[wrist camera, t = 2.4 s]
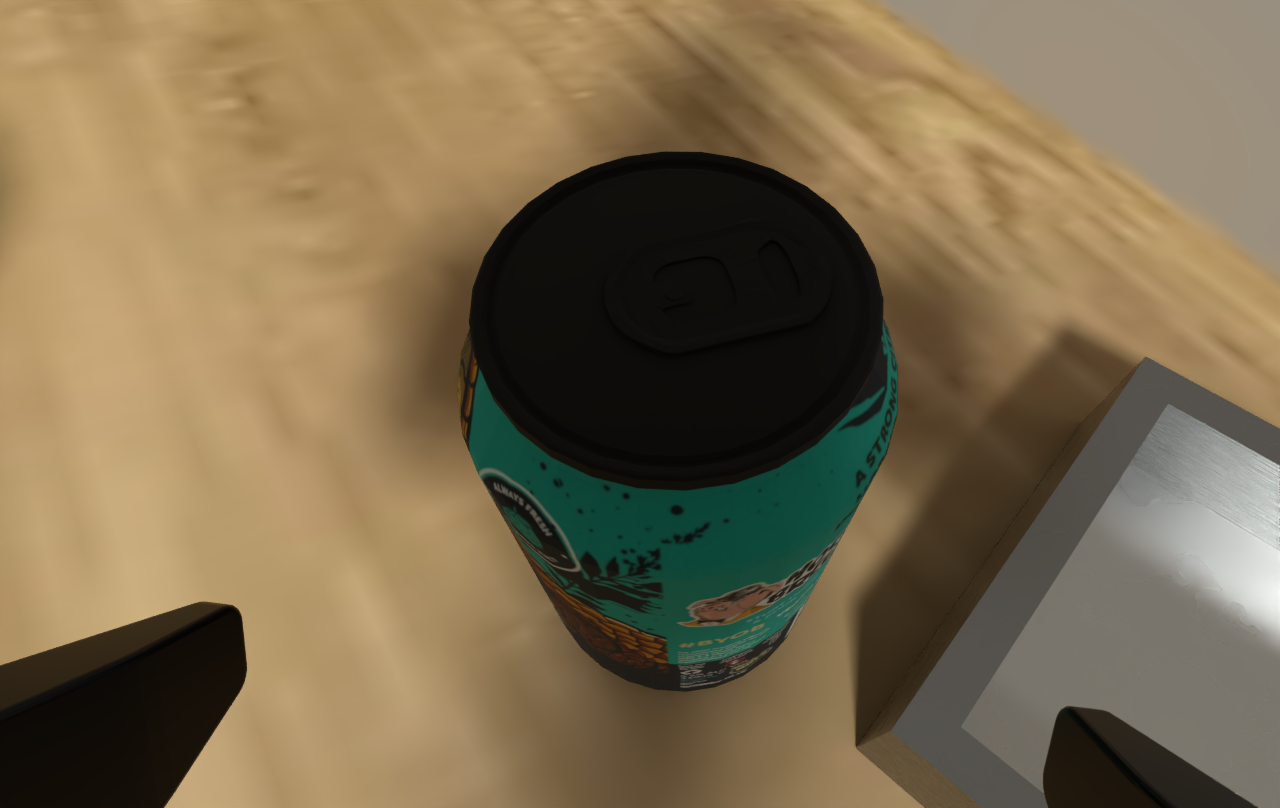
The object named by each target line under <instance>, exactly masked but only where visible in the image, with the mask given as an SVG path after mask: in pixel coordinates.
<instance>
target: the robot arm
mask: <svg viewBox="0 0 1280 808" xmlns="http://www.w3.org/2000/svg"><path fill="white" fill-rule="evenodd" d="M246 672H247V661H246V651H245V642H244V632H243V622H242V616H241V613H240V611H239V610H238V609H237V608H236V607H235V606H233V605H228V604H220V603H212V602H197V603H194V604H191V605H188V606H184V607H181V608H178V609H175V610H172V611H169V612H166V613H163V614H159V615H156V616H153V617H150V618H147V619H144V620H141V621H138V622H134V623H131V624H128V625H125V626H122V627H119V628H116V629H113V630H110V631H106V632H103V633H100V634H97V635H94V636H91V637H88V638H85V639H81V640H78V641H75V642H72V643H69V644H66V645H63V646H60V647H56V648H53V649H50V650H47V651H44V652H41V653H38V654H35V655H31V656H28V657H25V658H22V659H19V660H16V661H13V662H10V663H6V664H3V665H0V808H164V807H165V806H166V804H167V803H168V801H169V800H170V798H171V797H172V796H173V794H174V793H175V791H176V790H177V788H178V787H179V785H180V783H181V782H182V780H183V779H184V777H185V776H186V774H187V773H188V771H189V770H190V768H191V766H192V765H193V763H194V762H195V760H196V759H197V757H198V756H199V754H200V753H201V751H202V749H203V748H204V746H205V745H206V743H207V742H208V740H209V739H210V737H211V736H212V734H213V733H214V731H215V729H216V728H217V726H218V725H219V723H220V722H221V720H222V719H223V717H224V716H225V714H226V712H227V711H228V709H229V708H230V706H231V705H232V703H233V702H234V700H235V699H236V697H237V695H238V694H239V692H240V690H241V689H242V686H243V684H244V682H245V678H246ZM1043 790H1044V796H1045V800H1046V803H1047V806H1048V808H1258V807H1257V806H1255V805H1254V804H1252V803H1251V802H1249V801H1247V800H1246V799H1244V798H1243V797H1241V796H1240V795H1238V794H1237V793H1235V792H1233V791H1232V790H1230V789H1229V788H1227V787H1226V786H1224V785H1223V784H1221V783H1219V782H1218V781H1216V780H1215V779H1213V778H1212V777H1210V776H1208V775H1207V774H1205V773H1204V772H1202V771H1201V770H1199V769H1198V768H1196V767H1194V766H1193V765H1191V764H1190V763H1188V762H1187V761H1185V760H1184V759H1182V758H1180V757H1179V756H1177V755H1176V754H1174V753H1173V752H1171V751H1169V750H1168V749H1166V748H1165V747H1163V746H1162V745H1160V744H1159V743H1157V742H1155V741H1154V740H1152V739H1151V738H1149V737H1148V736H1146V735H1144V734H1143V733H1141V732H1140V731H1138V730H1137V729H1135V728H1134V727H1132V726H1130V725H1129V724H1127V723H1126V722H1124V721H1123V720H1121V719H1120V718H1118V717H1116V716H1115V715H1113V714H1112V713H1110V712H1108V711H1105V710H1101V709H1092V708H1083V707H1075V706H1066V707H1064V708H1063V709H1061V710H1060V711H1059V713H1058V714H1057V717H1056V720H1055V724H1054V728H1053V732H1052V736H1051V740H1050V745H1049V749H1048V753H1047V757H1046V761H1045V765H1044V770H1043Z"/></svg>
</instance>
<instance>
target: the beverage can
mask: <svg viewBox="0 0 1280 808" xmlns="http://www.w3.org/2000/svg"><path fill="white" fill-rule="evenodd" d="M469 325H470V329H469V332H468V335H467V338H466V341H465V343H464V346H463V349H462V354H461V363H460V372H459V381H458V395H457V397H458V404H459V411H460V418H461V426H462V433H463V437H464V440H465V442H466V445H467V447H468V450H469V452H470V455H471V457H472V459H473V462H474V464H475V467H476V469H477V472H478V474H479V476H480V478H481V479H482V481H483V483H484V485H485V486H486V488H487V490H488V492H489V493H490V495H491V497H492V499H493V500H494V502H495V504H496V506H497V508H498V509H499V511H500V513H501V515H502V516H503V518H504V520H505V522H506V523H507V525H508V527H509V529H510V530H511V532H512V534H513V536H514V537H515V539H516V541H517V543H518V544H519V546H520V548H521V550H522V551H523V553H524V555H525V557H526V558H527V560H528V562H529V564H530V565H531V567H532V569H533V571H534V572H535V574H536V576H537V578H538V579H539V581H540V583H541V585H542V586H543V588H544V590H545V592H546V593H547V595H548V597H549V599H550V600H551V602H552V604H553V606H554V607H555V609H556V611H557V613H558V614H559V616H560V618H561V620H562V621H563V623H564V625H565V626H566V628H567V629H568V630H569V632H570V633H571V635H572V636H573V637H574V639H575V640H576V642H577V643H578V644H579V646H580V647H581V648H582V649H583V650H584V651H585V652H586V653H587V654H589V655H590V656H591V657H592V658H593V659H594V660H595V661H596V662H598V663H599V664H600V665H601V666H602V667H604V668H606V669H607V670H609V671H611V672H613V673H614V674H616V675H618V676H620V677H622V678H623V679H625V680H627V681H630V682H633V683H636V684H640V685H643V686H646V687H650V688H653V689H658V690H672V691H692V690H698V689H705V688H711V687H716V686H719V685H721V684H724V683H726V682H729V681H731V680H734V679H737V678H739V677H742V676H743V675H745V674H746V673H748V672H749V671H751V670H752V669H754V668H755V667H757V666H758V665H760V664H761V663H762V662H764V661H765V660H767V659H768V658H769V656H770V655H771V654H772V653H773V652H774V651H775V650H776V649H777V648H778V647H779V646H780V645H781V643H782V642H783V641H784V640H785V639H786V638H787V636H788V634H789V632H790V631H791V629H792V627H793V625H794V624H795V622H796V620H797V618H798V616H799V615H800V613H801V611H802V609H803V607H804V605H805V604H806V602H807V600H808V598H809V596H810V594H811V593H812V591H813V589H814V587H815V585H816V583H817V582H818V580H819V578H820V576H821V574H822V572H823V570H824V569H825V567H826V565H827V563H828V561H829V559H830V558H831V556H832V554H833V552H834V550H835V548H836V546H837V545H838V543H839V541H840V539H841V537H842V535H843V534H844V532H845V530H846V528H847V526H848V524H849V523H850V521H851V519H852V517H853V515H854V513H855V511H856V510H857V508H858V506H859V504H860V502H861V500H862V499H863V497H864V495H865V493H866V491H867V489H868V487H869V486H870V484H871V482H872V480H873V478H874V476H875V475H876V473H877V471H878V469H879V467H880V465H881V463H882V462H883V460H884V458H885V456H886V454H887V451H888V447H889V443H890V440H891V436H892V432H893V428H894V425H895V421H896V417H897V414H898V368H897V362H896V358H895V354H894V350H893V346H892V342H891V338H890V334H889V330H888V327H887V325H886V323H885V321H884V319H883V296H882V292H881V288H880V284H879V280H878V276H877V272H876V268H875V265H874V263H873V261H872V259H871V257H870V255H869V254H868V252H867V250H866V248H865V246H864V244H863V242H862V241H861V239H860V237H859V235H858V234H857V233H856V232H855V230H854V229H853V228H852V227H851V226H850V225H849V224H848V222H847V221H846V220H845V219H844V218H843V217H842V215H841V214H840V213H839V212H838V211H837V210H836V209H835V208H834V207H833V206H832V205H830V204H829V203H828V202H826V201H825V200H824V199H822V198H821V197H820V196H818V195H817V194H816V193H815V192H813V191H812V190H811V189H809V188H808V187H807V186H805V185H803V184H801V183H799V182H797V181H795V180H793V179H791V178H789V177H787V176H785V175H783V174H781V173H780V172H778V171H776V170H774V169H771V168H768V167H765V166H761V165H758V164H755V163H752V162H749V161H746V160H743V159H740V158H735V157H729V156H723V155H716V154H710V153H704V152H657V153H650V154H643V155H635V156H628V157H624V158H620V159H617V160H613V161H610V162H606V163H603V164H600V165H596V166H593V167H590V168H588V169H586V170H584V171H581V172H579V173H577V174H575V175H573V176H571V177H569V178H566V179H564V180H562V181H560V182H558V183H556V184H555V185H554V186H552V187H551V188H549V189H548V190H546V191H545V192H543V193H542V194H540V195H539V196H538V197H536V198H535V199H533V200H532V201H530V202H529V203H528V204H527V205H526V206H525V207H524V208H523V209H522V210H521V211H520V212H519V213H518V214H517V215H516V216H515V217H514V218H513V219H512V220H511V221H510V222H509V223H508V224H507V225H506V226H505V227H504V228H503V229H502V230H501V232H500V234H499V235H498V237H497V238H496V240H495V241H494V243H493V244H492V246H491V247H490V249H489V250H488V252H487V253H486V255H485V256H484V259H483V262H482V264H481V267H480V270H479V272H478V275H477V278H476V280H475V283H474V286H473V289H472V299H471V308H470V317H469Z"/></svg>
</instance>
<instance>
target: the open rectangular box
mask: <svg viewBox="0 0 1280 808" xmlns="http://www.w3.org/2000/svg"><path fill="white" fill-rule="evenodd" d="M1066 706H1075V707H1083V708H1092V709H1101V710H1105V711H1108V712H1110V713H1112V714H1113V715H1115V716H1116V717H1118V718H1120V719H1121V720H1123V721H1124V722H1126V723H1127V724H1129V725H1130V726H1132V727H1134V728H1135V729H1137V730H1138V731H1140V732H1141V733H1143V734H1144V735H1146V736H1148V737H1149V738H1151V739H1152V740H1154V741H1155V742H1157V743H1159V744H1160V745H1162V746H1163V747H1165V748H1166V749H1168V750H1169V751H1171V752H1173V753H1174V754H1176V755H1177V756H1179V757H1180V758H1182V759H1184V760H1185V761H1187V762H1188V763H1190V764H1191V765H1193V766H1194V767H1196V768H1198V769H1199V770H1201V771H1202V772H1204V773H1205V774H1207V775H1208V776H1210V777H1212V778H1213V779H1215V780H1216V781H1218V782H1219V783H1221V784H1223V785H1224V786H1226V787H1227V788H1229V789H1230V790H1232V791H1233V792H1235V793H1237V794H1238V795H1240V796H1241V797H1243V798H1244V799H1246V800H1247V801H1249V802H1251V803H1252V804H1254V805H1255V806H1257V807H1258V808H1280V429H1279V428H1277V427H1275V426H1273V425H1272V424H1270V423H1268V422H1266V421H1264V420H1262V419H1260V418H1259V417H1257V416H1255V415H1253V414H1251V413H1249V412H1247V411H1246V410H1244V409H1242V408H1240V407H1238V406H1236V405H1234V404H1233V403H1231V402H1229V401H1227V400H1225V399H1223V398H1222V397H1220V396H1218V395H1216V394H1214V393H1212V392H1210V391H1209V390H1207V389H1205V388H1203V387H1201V386H1199V385H1197V384H1196V383H1194V382H1192V381H1190V380H1188V379H1186V378H1184V377H1183V376H1181V375H1179V374H1177V373H1175V372H1173V371H1171V370H1170V369H1168V368H1166V367H1164V366H1162V365H1160V364H1159V363H1157V362H1155V361H1153V360H1151V359H1149V358H1147V357H1145V358H1144V359H1143V360H1142V361H1141V362H1140V363H1139V364H1138V365H1137V366H1136V367H1135V368H1134V369H1133V370H1132V371H1131V372H1130V373H1129V374H1128V375H1127V376H1126V378H1125V379H1124V380H1123V381H1122V382H1121V383H1120V384H1119V385H1118V386H1117V387H1116V388H1115V389H1114V390H1113V391H1112V392H1111V393H1110V394H1109V395H1108V396H1107V397H1106V398H1105V399H1104V400H1103V401H1102V402H1101V403H1100V404H1099V405H1098V406H1097V407H1096V408H1095V409H1094V410H1093V411H1092V412H1091V413H1090V414H1089V415H1088V416H1087V417H1086V418H1085V420H1084V421H1083V422H1082V423H1081V424H1080V426H1079V427H1078V429H1077V430H1076V432H1075V433H1074V435H1073V436H1072V437H1071V439H1070V440H1069V442H1068V443H1067V445H1066V446H1065V447H1064V449H1063V450H1062V452H1061V453H1060V455H1059V456H1058V458H1057V459H1056V460H1055V462H1054V463H1053V465H1052V466H1051V468H1050V469H1049V471H1048V472H1047V473H1046V475H1045V476H1044V478H1043V479H1042V481H1041V482H1040V483H1039V485H1038V486H1037V488H1036V489H1035V491H1034V492H1033V494H1032V495H1031V496H1030V498H1029V499H1028V501H1027V502H1026V504H1025V505H1024V507H1023V508H1022V509H1021V511H1020V512H1019V514H1018V515H1017V517H1016V518H1015V519H1014V521H1013V522H1012V524H1011V525H1010V527H1009V528H1008V530H1007V531H1006V532H1005V534H1004V535H1003V537H1002V538H1001V540H1000V541H999V543H998V544H997V545H996V547H995V548H994V550H993V551H992V553H991V554H990V555H989V557H988V558H987V560H986V561H985V563H984V564H983V566H982V567H981V568H980V570H979V571H978V573H977V574H976V576H975V577H974V579H973V580H972V581H971V583H970V584H969V586H968V587H967V589H966V590H965V591H964V593H963V594H962V596H961V597H960V599H959V600H958V602H957V603H956V604H955V606H954V607H953V609H952V610H951V612H950V613H949V615H948V616H947V617H946V619H945V620H944V622H943V623H942V625H941V626H940V627H939V629H938V630H937V632H936V633H935V635H934V636H933V638H932V639H931V640H930V642H929V643H928V645H927V646H926V648H925V649H924V650H923V652H922V653H921V655H920V656H919V658H918V659H917V661H916V662H915V663H914V665H913V666H912V668H911V669H910V671H909V672H908V674H907V675H906V676H905V678H904V679H903V681H902V682H901V684H900V685H899V686H898V688H897V689H896V691H895V692H894V694H893V695H892V697H891V698H890V699H889V701H888V702H887V704H886V705H885V707H884V708H883V710H882V711H881V712H880V714H879V715H878V717H877V718H876V720H875V721H874V722H873V724H872V725H871V727H870V728H869V730H868V731H867V733H866V734H865V735H864V737H863V738H862V740H861V741H860V743H859V744H858V746H857V747H856V748H857V749H858V750H859V751H860V752H861V753H862V754H864V755H865V756H866V757H867V758H868V759H869V760H870V761H872V762H873V763H874V764H875V765H876V766H877V767H879V768H880V769H881V770H882V771H883V772H884V773H885V774H887V775H888V776H889V777H890V778H891V779H892V780H894V781H895V782H896V783H897V784H898V785H899V786H901V787H902V788H903V789H904V790H905V791H906V792H907V793H909V794H910V795H911V796H912V797H913V798H914V799H916V800H917V801H918V802H919V803H920V804H921V805H922V806H924V807H925V808H1048V806H1047V803H1046V800H1045V796H1044V790H1043V770H1044V765H1045V761H1046V757H1047V753H1048V749H1049V745H1050V740H1051V736H1052V732H1053V728H1054V724H1055V720H1056V717H1057V714H1058V713H1059V711H1060V710H1061V709H1063V708H1064V707H1066Z"/></svg>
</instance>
